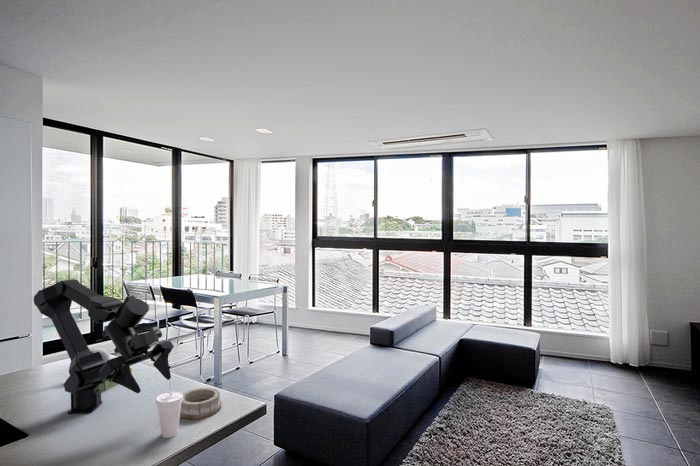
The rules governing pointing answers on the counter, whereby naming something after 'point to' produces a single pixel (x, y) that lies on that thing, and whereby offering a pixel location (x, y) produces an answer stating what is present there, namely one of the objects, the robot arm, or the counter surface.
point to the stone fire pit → (200, 403)
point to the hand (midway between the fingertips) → (155, 385)
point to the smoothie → (169, 411)
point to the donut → (103, 352)
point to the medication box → (108, 384)
